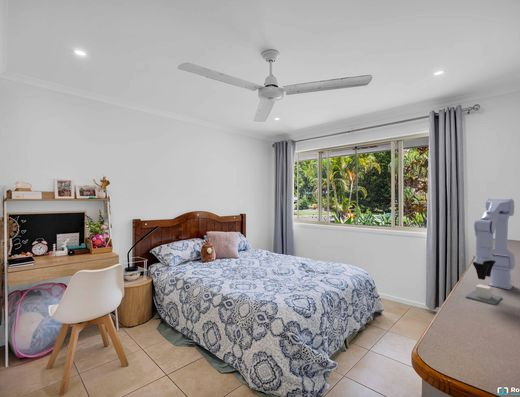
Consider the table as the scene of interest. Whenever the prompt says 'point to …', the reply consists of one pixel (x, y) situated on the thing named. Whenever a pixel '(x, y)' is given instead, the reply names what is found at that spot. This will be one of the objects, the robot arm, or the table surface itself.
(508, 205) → the robot arm
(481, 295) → the cream cube
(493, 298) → the gray mat
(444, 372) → the table surface
